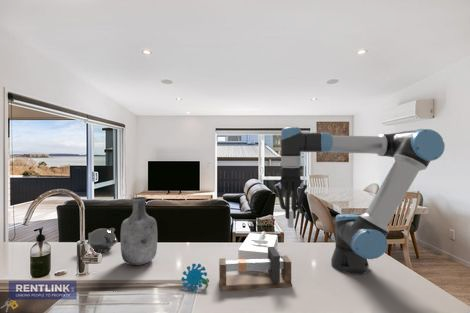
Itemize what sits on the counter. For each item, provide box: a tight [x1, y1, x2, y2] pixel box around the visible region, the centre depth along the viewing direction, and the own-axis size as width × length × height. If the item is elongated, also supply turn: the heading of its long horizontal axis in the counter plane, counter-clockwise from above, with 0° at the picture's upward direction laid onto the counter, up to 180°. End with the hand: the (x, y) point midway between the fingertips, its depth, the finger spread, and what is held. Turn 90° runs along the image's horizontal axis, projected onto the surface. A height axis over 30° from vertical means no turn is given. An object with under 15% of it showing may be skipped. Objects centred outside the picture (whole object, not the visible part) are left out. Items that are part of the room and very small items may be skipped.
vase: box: [120, 196, 158, 266], centre depth 123 cm, size 16×16×30 cm
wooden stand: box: [218, 255, 293, 292], centre depth 104 cm, size 27×10×9 cm, turn 95°
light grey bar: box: [226, 257, 284, 273], centre depth 104 cm, size 25×3×3 cm, turn 95°
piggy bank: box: [87, 227, 119, 254], centre depth 138 cm, size 11×15×12 cm
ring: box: [267, 247, 281, 283], centre depth 105 cm, size 2×10×10 cm, turn 5°
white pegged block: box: [237, 231, 278, 273], centre depth 126 cm, size 14×25×11 cm, turn 165°
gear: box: [180, 263, 210, 292], centre depth 102 cm, size 11×6×10 cm
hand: (290, 226), depth 105 cm, fingers closed
